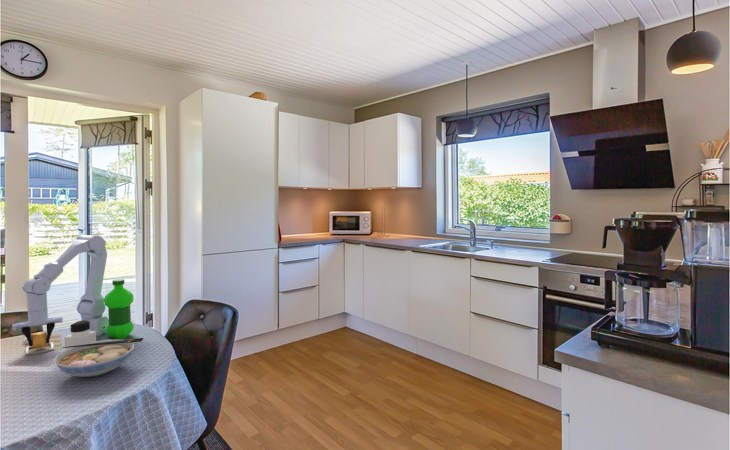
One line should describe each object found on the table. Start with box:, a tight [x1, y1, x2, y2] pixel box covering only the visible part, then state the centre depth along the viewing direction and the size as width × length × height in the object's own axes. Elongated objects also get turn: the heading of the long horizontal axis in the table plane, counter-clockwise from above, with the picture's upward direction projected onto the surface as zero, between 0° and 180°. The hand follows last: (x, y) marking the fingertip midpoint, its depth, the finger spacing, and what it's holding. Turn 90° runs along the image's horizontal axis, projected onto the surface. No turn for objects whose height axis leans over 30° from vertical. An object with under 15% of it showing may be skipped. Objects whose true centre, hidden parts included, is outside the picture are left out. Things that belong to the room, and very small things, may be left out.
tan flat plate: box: [23, 332, 63, 357], centre depth 152 cm, size 23×11×2 cm, turn 40°
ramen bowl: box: [53, 337, 144, 378], centre depth 130 cm, size 25×23×8 cm
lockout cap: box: [31, 331, 47, 349], centre depth 146 cm, size 4×4×5 cm
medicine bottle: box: [64, 319, 97, 351], centre depth 148 cm, size 7×7×12 cm
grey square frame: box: [24, 342, 54, 357], centre depth 146 cm, size 8×8×1 cm
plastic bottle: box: [104, 278, 134, 340], centre depth 163 cm, size 10×10×25 cm
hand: (39, 344), depth 146 cm, fingers closed on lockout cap, 4 cm apart
